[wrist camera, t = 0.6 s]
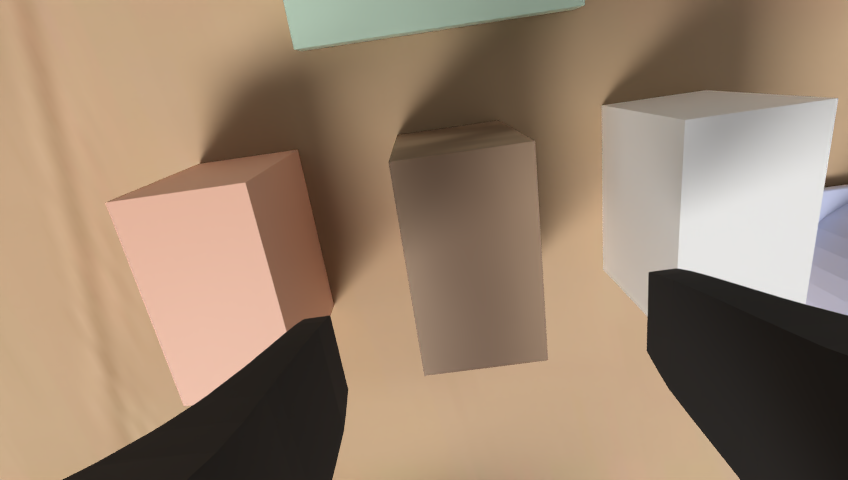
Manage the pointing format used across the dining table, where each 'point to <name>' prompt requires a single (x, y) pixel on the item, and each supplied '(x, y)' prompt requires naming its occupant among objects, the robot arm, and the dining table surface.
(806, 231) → the pale grey brick
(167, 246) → the terracotta brick
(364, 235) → the dining table surface
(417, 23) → the sage green board
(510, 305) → the walnut brick
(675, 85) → the dining table surface
